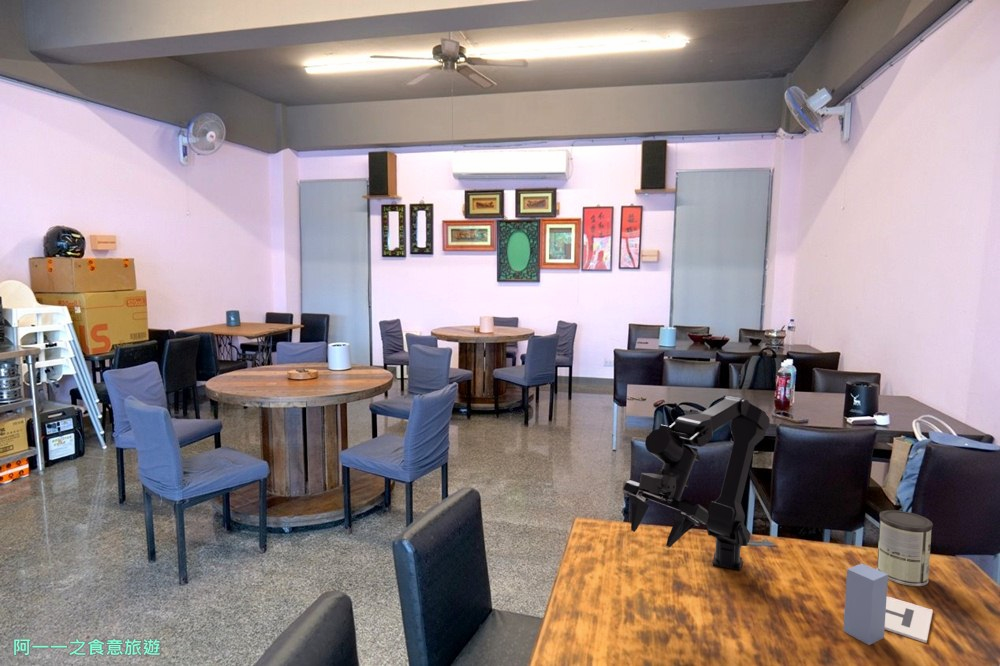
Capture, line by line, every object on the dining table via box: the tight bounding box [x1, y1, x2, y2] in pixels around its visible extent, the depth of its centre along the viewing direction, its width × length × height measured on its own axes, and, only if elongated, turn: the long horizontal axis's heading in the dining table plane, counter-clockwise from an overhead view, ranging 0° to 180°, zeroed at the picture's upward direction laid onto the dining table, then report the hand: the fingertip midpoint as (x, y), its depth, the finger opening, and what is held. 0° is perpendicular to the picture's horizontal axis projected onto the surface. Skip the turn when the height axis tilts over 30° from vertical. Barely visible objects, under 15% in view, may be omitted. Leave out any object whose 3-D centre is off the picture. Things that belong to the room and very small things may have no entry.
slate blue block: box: [842, 562, 889, 646], centre depth 114 cm, size 5×5×13 cm
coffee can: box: [876, 509, 934, 587], centre depth 137 cm, size 10×10×14 cm
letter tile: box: [884, 595, 934, 644], centre depth 121 cm, size 14×14×1 cm
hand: (649, 538), depth 123 cm, fingers open, 9 cm apart
